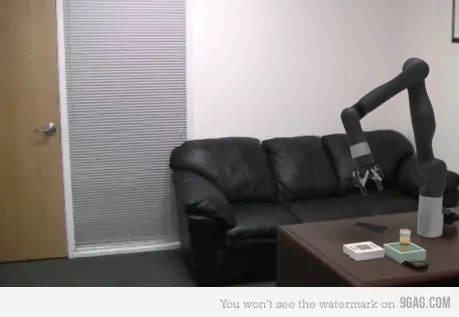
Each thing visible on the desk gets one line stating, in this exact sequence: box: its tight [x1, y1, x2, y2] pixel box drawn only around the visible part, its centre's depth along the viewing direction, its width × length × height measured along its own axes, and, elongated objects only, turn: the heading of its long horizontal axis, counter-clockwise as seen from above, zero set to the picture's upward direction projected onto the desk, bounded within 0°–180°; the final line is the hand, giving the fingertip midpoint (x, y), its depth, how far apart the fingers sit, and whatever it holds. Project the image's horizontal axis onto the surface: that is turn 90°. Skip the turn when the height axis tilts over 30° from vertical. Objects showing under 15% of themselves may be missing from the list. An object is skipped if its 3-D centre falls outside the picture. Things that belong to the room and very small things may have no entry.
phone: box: [351, 221, 391, 234], centre depth 251 cm, size 8×1×15 cm
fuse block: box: [342, 241, 385, 262], centre depth 218 cm, size 12×10×3 cm
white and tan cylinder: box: [399, 228, 412, 253], centre depth 215 cm, size 4×4×10 cm
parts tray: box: [383, 241, 427, 265], centre depth 215 cm, size 11×11×4 cm
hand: (373, 193), depth 231 cm, fingers open, 8 cm apart
